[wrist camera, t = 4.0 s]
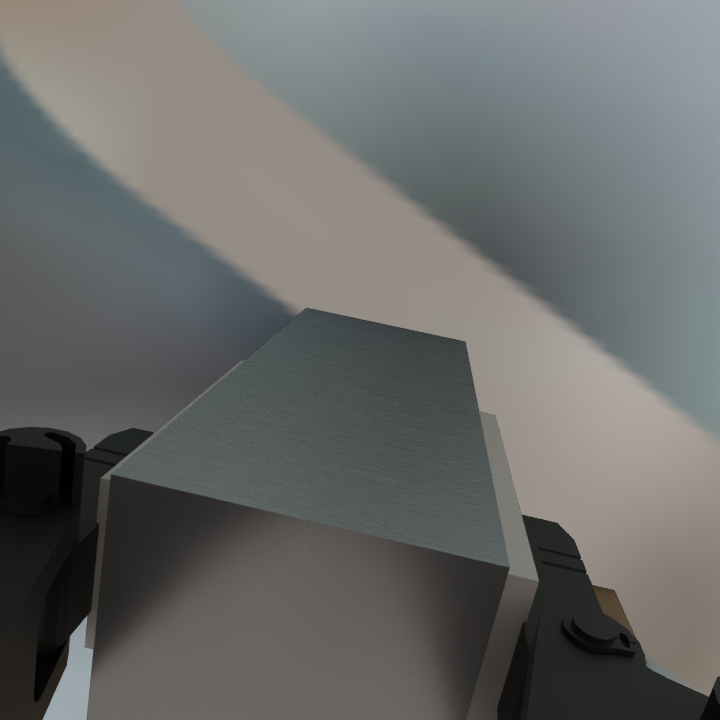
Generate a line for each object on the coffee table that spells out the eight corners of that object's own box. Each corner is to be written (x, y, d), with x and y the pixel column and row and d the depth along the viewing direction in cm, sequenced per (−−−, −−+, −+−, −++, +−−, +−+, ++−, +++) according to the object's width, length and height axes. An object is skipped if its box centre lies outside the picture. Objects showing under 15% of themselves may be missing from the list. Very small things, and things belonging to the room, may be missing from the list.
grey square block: (306, 307, 18) (110, 474, 7) (465, 341, 17) (510, 567, 7) (280, 454, 19) (80, 786, 8) (429, 488, 19) (420, 878, 8)
